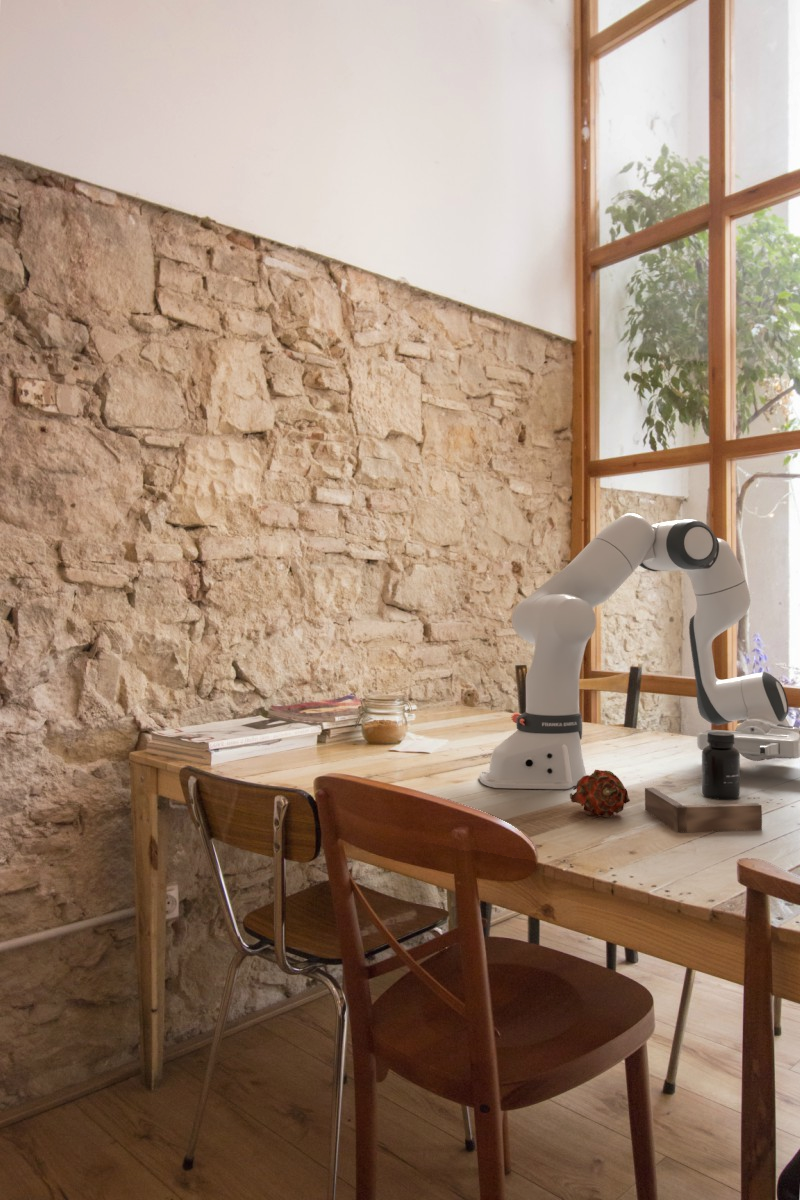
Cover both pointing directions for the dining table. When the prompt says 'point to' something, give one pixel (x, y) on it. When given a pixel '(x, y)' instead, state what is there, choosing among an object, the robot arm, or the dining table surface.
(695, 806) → the corner arena
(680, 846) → the dining table surface
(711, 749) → the supplement bottle
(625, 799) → the dragon fruit
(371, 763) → the dining table surface
